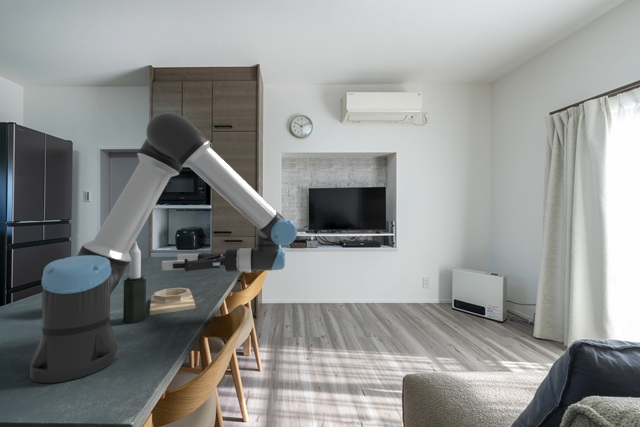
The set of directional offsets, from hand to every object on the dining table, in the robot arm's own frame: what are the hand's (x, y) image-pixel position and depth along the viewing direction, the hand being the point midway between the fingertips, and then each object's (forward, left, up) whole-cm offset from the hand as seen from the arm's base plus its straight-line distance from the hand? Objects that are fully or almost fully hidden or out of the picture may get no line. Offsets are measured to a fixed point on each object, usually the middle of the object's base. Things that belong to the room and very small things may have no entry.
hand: (170, 261), depth 94 cm
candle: (+3, +10, -18) cm, 21 cm away
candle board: (+16, -1, -18) cm, 24 cm away
